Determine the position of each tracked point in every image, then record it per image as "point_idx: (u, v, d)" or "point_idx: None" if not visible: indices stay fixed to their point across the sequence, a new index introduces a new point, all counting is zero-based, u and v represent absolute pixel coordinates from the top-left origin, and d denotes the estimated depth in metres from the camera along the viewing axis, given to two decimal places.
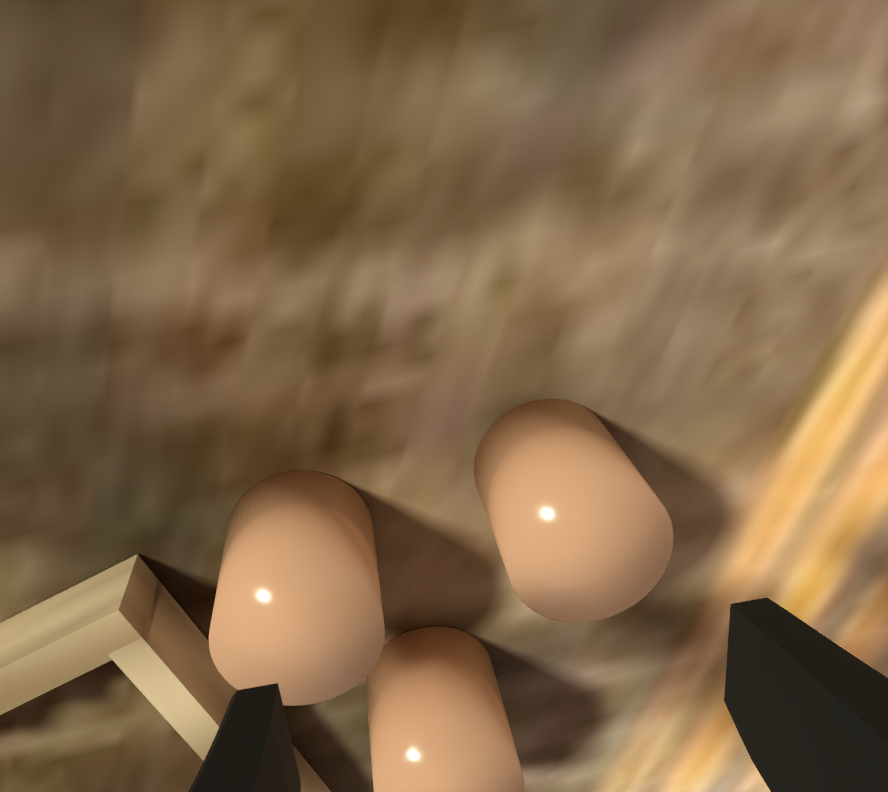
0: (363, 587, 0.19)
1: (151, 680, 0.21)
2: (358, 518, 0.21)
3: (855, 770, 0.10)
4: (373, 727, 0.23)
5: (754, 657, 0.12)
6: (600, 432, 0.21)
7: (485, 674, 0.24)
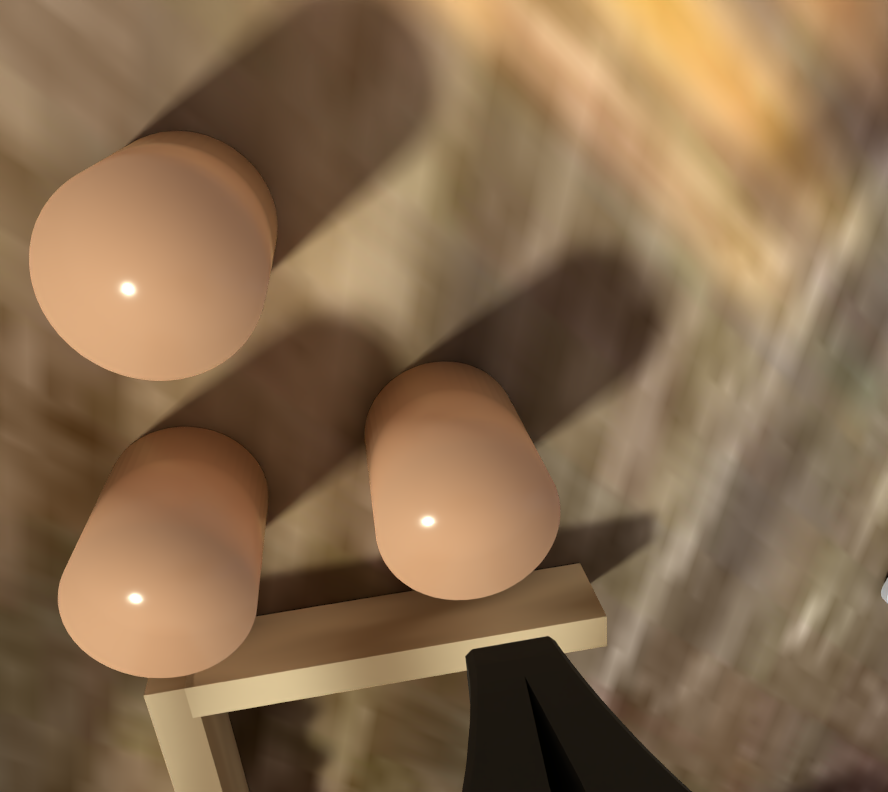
0: (113, 528, 0.16)
1: (240, 696, 0.21)
2: (143, 457, 0.19)
3: None
4: None
5: None
6: None
7: (417, 392, 0.19)
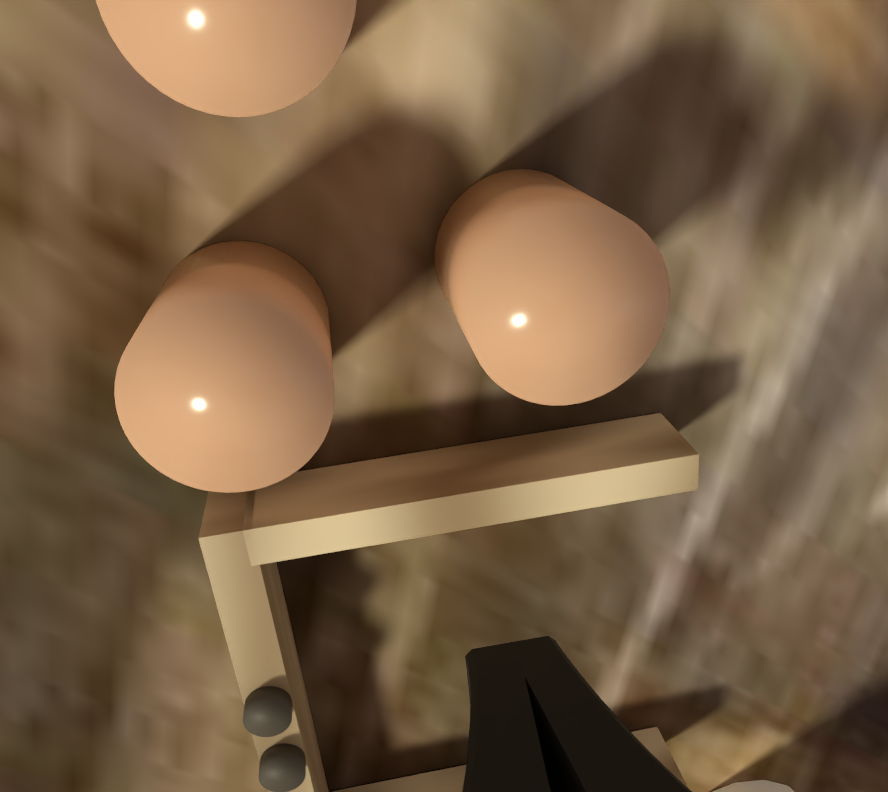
0: (178, 304, 0.14)
1: (302, 541, 0.19)
2: (199, 261, 0.17)
3: None
4: None
5: None
6: None
7: (500, 188, 0.17)
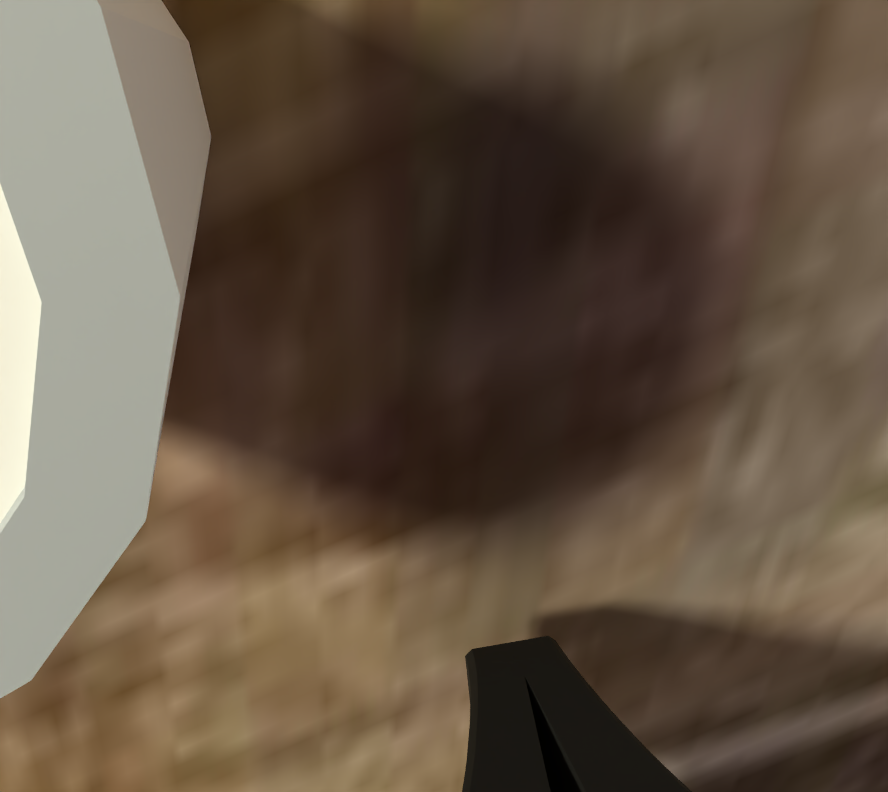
0: None
1: None
2: None
3: None
4: None
5: None
6: None
7: None
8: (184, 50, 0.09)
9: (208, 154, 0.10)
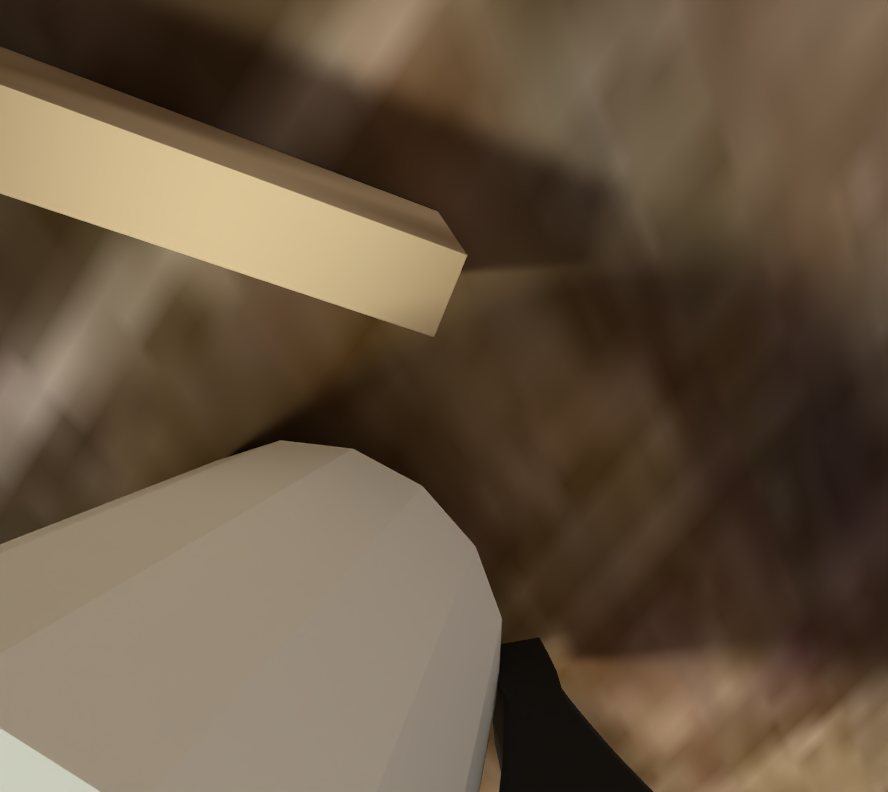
0: None
1: None
2: None
3: None
4: None
5: (498, 703, 0.12)
6: None
7: None
8: (402, 522, 0.10)
9: (480, 561, 0.11)
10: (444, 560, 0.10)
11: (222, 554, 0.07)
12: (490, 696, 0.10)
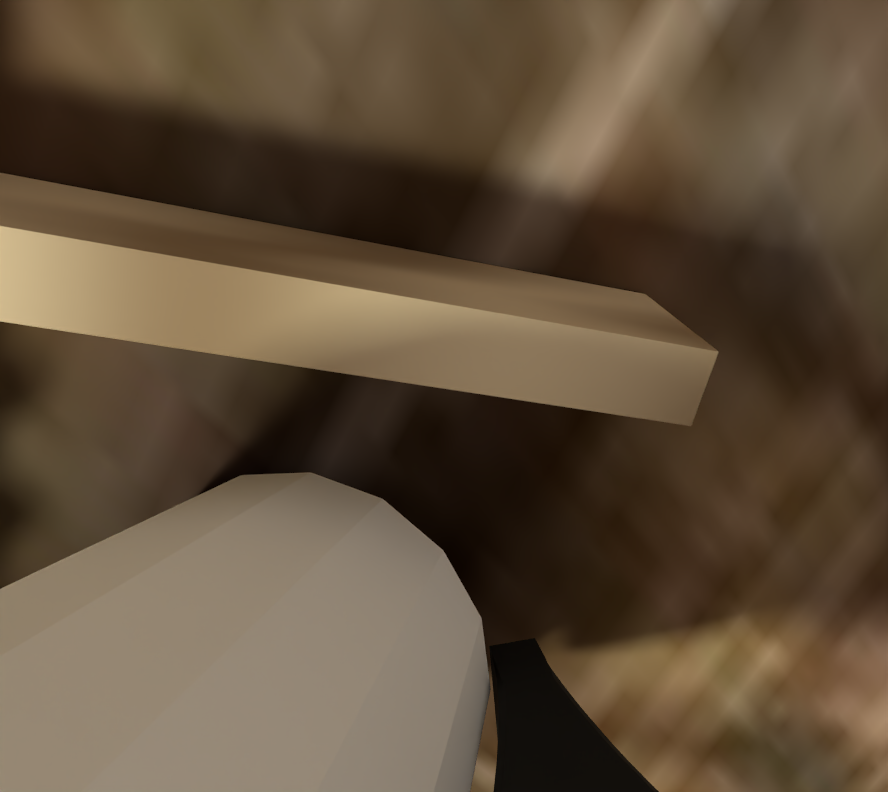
0: None
1: None
2: None
3: None
4: None
5: None
6: None
7: None
8: (356, 536, 0.10)
9: (450, 564, 0.11)
10: (405, 567, 0.10)
11: (155, 590, 0.07)
12: (473, 696, 0.10)
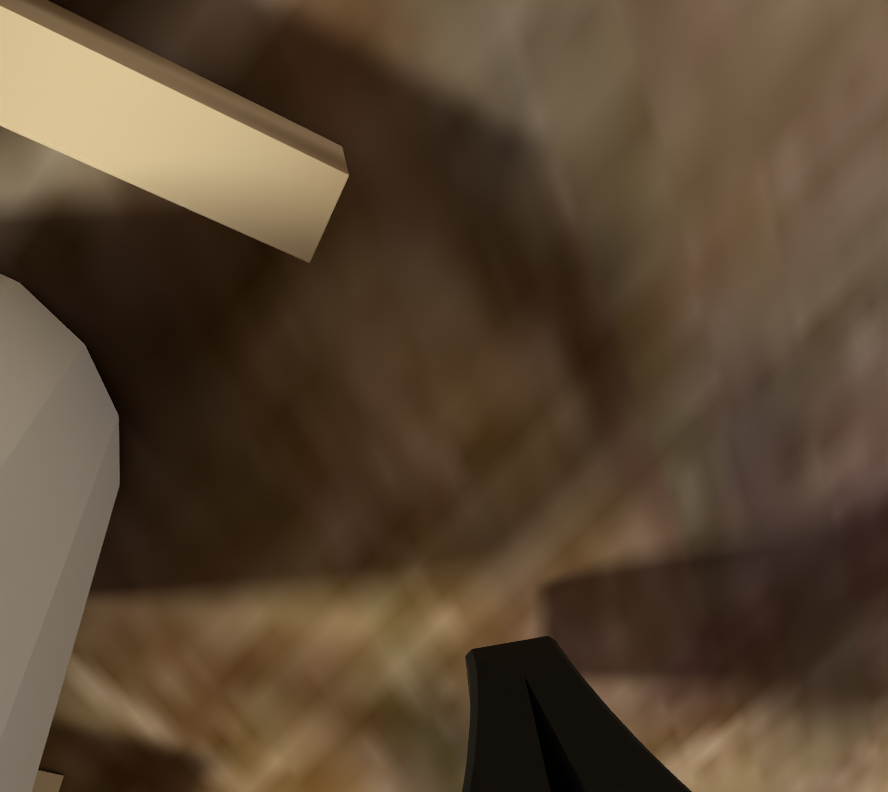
0: None
1: None
2: None
3: None
4: None
5: None
6: None
7: None
8: None
9: (91, 359, 0.11)
10: (44, 353, 0.10)
11: None
12: (105, 485, 0.11)
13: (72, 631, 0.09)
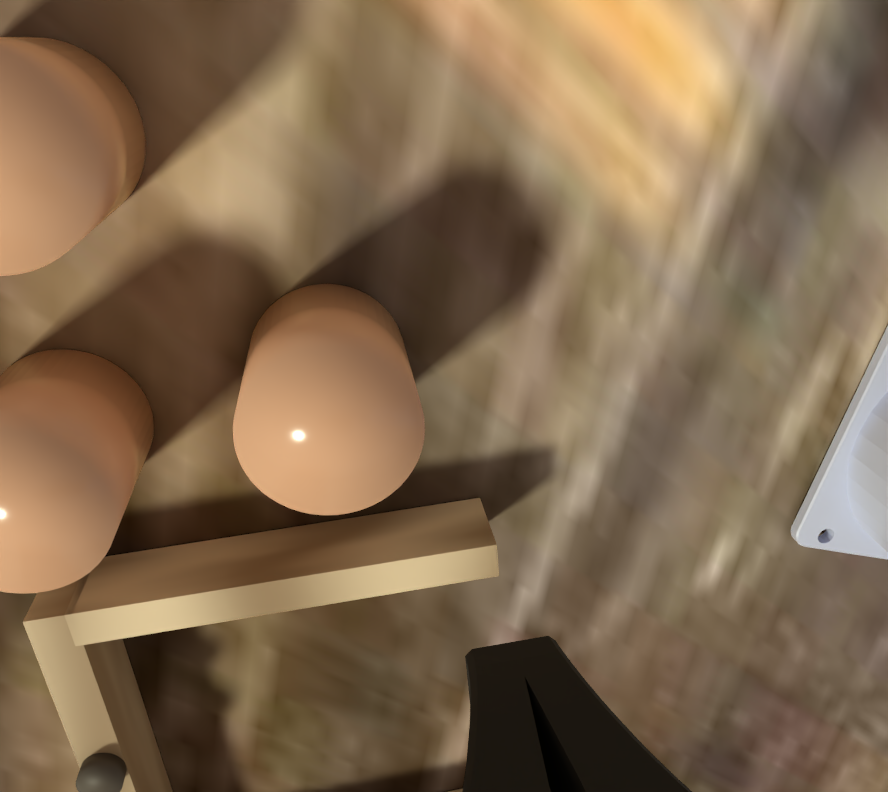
0: None
1: (122, 624, 0.21)
2: (12, 375, 0.19)
3: None
4: None
5: None
6: None
7: (290, 309, 0.19)
8: None
9: None
10: None
11: None
12: None
13: None
